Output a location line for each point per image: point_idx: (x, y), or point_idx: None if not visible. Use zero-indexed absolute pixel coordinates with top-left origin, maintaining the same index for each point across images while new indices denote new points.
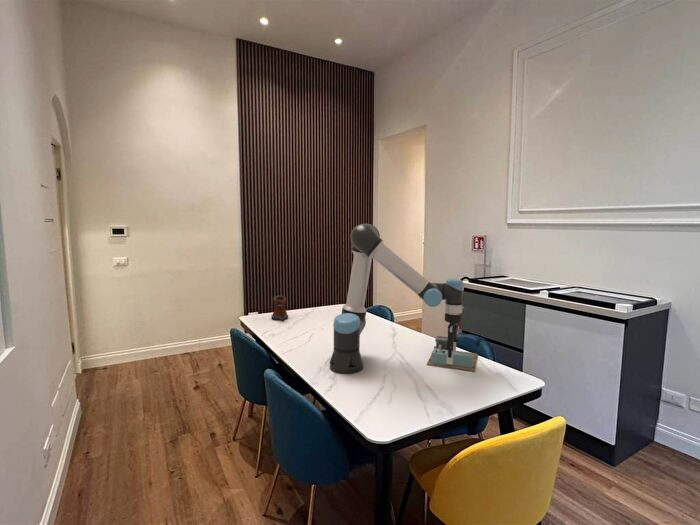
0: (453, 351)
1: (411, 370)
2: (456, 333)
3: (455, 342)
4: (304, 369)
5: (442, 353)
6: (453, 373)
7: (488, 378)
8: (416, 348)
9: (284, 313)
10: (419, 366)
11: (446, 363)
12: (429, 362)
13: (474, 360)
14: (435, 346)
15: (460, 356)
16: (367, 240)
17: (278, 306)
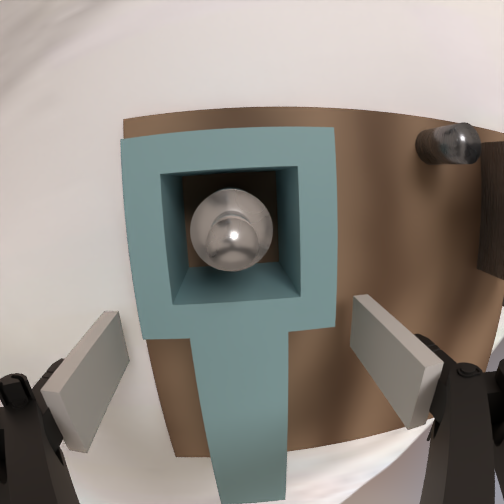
0: (368, 348)
1: (3, 74)
2: (500, 487)
3: (419, 420)
4: None
5: (163, 278)
6: None
7: (136, 490)
8: (459, 12)
9: None
10: (80, 82)
11: (104, 312)
12: (169, 130)
13: (366, 429)
14: (470, 136)
15: (209, 438)
16: None
17: None
